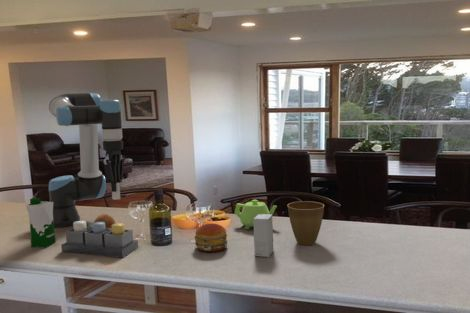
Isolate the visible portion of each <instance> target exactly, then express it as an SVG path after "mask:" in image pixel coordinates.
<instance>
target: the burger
mask: <svg viewBox="0 0 470 313" xmlns="http://www.w3.org/2000/svg"><path fill="white" fill-rule="evenodd" d="M193 238H194V241H195V242H194V245H195V246H196V248H197V249H198V250H199V251H201V252H206V253H207V252H208V253H209V252H210V253H212V252H218V251H222V250H224V249H227V247H228V239H227V238H228V234H227V230H226V228H225V227H224V226H223V225H221V224H218V223H205V224H202V225H200V226H199V227H198V228H197V229H196V230H195V235H194V237H193Z"/></svg>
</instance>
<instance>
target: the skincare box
mask: <svg viewBox="0 0 470 313" xmlns="http://www.w3.org/2000/svg"><path fill="white" fill-rule="evenodd" d="M253 224H254V227H253V250H254V256H255V257H263V258H270V256H271V255H272V253H273V252H274V226H273V225H274V224H273V215H272V214H258V215H257V216H256V217H255V218H254V219H253Z"/></svg>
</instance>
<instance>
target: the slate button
mask: <svg viewBox="0 0 470 313" xmlns="http://www.w3.org/2000/svg"><path fill="white" fill-rule="evenodd" d="M91 227H92V230H93V233H103V232H105V222H95V223H94V222H93V223H92V224H91Z"/></svg>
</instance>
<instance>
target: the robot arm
mask: <svg viewBox="0 0 470 313" xmlns="http://www.w3.org/2000/svg"><path fill="white" fill-rule="evenodd" d="M48 110H49V112H50V114H51V115H52V116H53V117H54V118H56V119H55V120H56V123H57V125H58V126H61V127H69V126H78V130H79V131H78V132H79V133H78V135H79V136H78V137H79V153H80V155H79V156H80V171H79V172H77V177H74V176H73V175H70V174H69V175H62V176H57V177H55V178H52V179H50V180H49V182H48V192H49V194H48V195H49V202H53V222H54V228H65V227H70V226H73V222H76V221H81V216H80V214H79V212H78V209H77V207H76V202H80V201H86V200H96V199H99V198H102V197H104V195H105V193H106V191H107V190H106V189H107V188H106V187H107V183H108V184H110V185H111V186H110V187H111V197H112V200H114V201H115V200H121V186H120V185H121V184H120V183H122V182H123V180H124V168H125V167H124V166H125V160H126V156H125V155H122V151H121V150H123V149H124V141H123V140H122V139H123V137H124V136H123V128H122V127H123V126H122V106H121V102H120V100H118V99H102V98H101V95H100V94H99V93H96V92H95V93H94V92H77V93H76V92H75V93H63V94H59V95H57V96H55V97H53V98H51V100H50V102H49V104H48ZM98 125H101V134H102V140H103V141H102V150H103V151H105V158H104V159H102V160H101V163H102V165H103V169H104V174H105V175H104V174H103V172H102V171H101V170H100V167H99V165H100V163H99V161H100V160H99V134H98Z"/></svg>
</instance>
